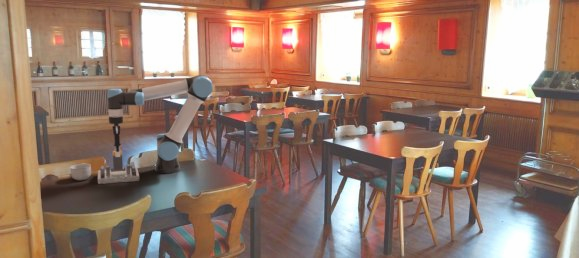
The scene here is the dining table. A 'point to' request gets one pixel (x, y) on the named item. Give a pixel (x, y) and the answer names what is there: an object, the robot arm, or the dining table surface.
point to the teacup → (81, 171)
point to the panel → (117, 175)
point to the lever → (117, 163)
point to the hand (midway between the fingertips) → (117, 156)
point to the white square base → (131, 169)
